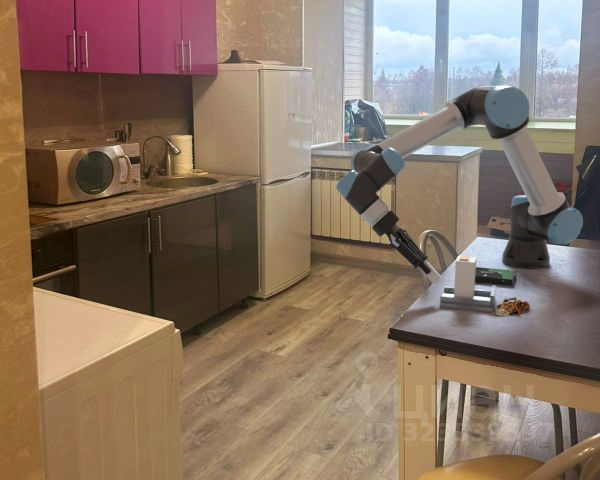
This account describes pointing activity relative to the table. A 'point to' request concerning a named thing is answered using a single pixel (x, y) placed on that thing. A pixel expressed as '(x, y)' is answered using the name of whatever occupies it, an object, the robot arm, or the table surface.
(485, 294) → the rail base
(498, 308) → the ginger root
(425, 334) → the table surface
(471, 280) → the block
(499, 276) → the disk drive
